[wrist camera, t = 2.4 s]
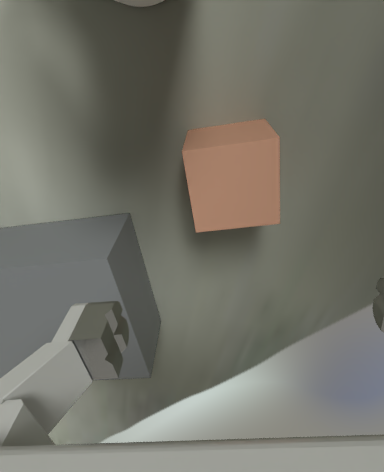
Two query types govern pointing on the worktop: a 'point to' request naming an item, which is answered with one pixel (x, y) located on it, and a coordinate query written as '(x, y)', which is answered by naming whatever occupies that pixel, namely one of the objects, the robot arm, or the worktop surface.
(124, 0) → the mug
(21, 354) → the stand
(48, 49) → the worktop surface
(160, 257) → the worktop surface
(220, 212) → the cube
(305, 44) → the worktop surface
